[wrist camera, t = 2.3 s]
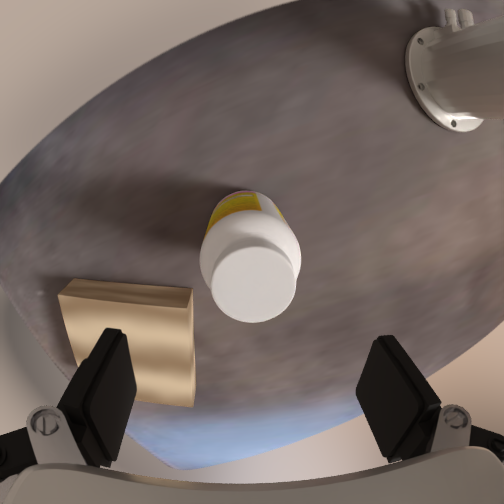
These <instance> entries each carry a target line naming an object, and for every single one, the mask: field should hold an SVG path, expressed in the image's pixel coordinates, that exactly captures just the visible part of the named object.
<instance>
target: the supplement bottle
mask: <svg viewBox="0 0 504 504" xmlns="http://www.w3.org/2000/svg"><path fill="white" fill-rule="evenodd" d="M300 266H301V252H300V247H299V244H298V241H297V239H296V237H295V235H294V233H293V232H292V230H291V229H290V227H289V226H288V224H287V222H286V221H285V219H284V218H283V216H282V214H281V213H280V211H279V210H278V208H277V207H276V205H275V204H274V203H273V202H272V201H271V200H270V199H269V198H268V197H266V196H265V195H263V194H261V193H258V192H254V191H238V192H235V193H232V194H230V195H228V196H226V197H225V198H223V199H222V200H221V201H220V202H219V203H218V204H217V206H216V207H215V209H214V211H213V213H212V215H211V218H210V221H209V224H208V227H207V230H206V234H205V237H204V240H203V243H202V247H201V252H200V268H201V273H202V275H203V278H204V280H205V282H206V284H207V285H208V287H209V288H210V289H211V293H212V296H213V299H214V301H215V303H216V304H217V306H218V307H219V308H220V309H221V310H222V311H223V312H224V313H225V314H226V315H228V316H229V317H231V318H233V319H236V320H239V321H242V322H262V321H266V320H269V319H271V318H274V317H275V316H277V315H279V314H280V313H281V312H283V311H284V310H285V309H286V308H287V307H288V305H289V304H290V302H291V301H292V299H293V296H294V294H295V290H296V279H297V277H298V274H299V271H300Z"/></svg>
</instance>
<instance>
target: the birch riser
mask: <svg viewBox="0 0 504 504" xmlns="http://www.w3.org/2000/svg"><path fill="white" fill-rule="evenodd" d="M58 298H59V303H60V307H61V311H62V315H63V319H64V323H65V326H66V330H67V333H68V337H69V340H70V344H71V347H72V350H73V353H74V356H75V359H76V362H77V365H78V367H79V365H80V364H81V362H82V361H83V360H84V359H85V358H88V356H89V354H90V353H91V351H92V349H93V348H94V346H95V344H96V343H97V341H98V339H99V338H100V336H101V334H102V333H103V331H104V329H105V328H107V327H108V328H115V329H121V331H122V333H124V334H126V335H127V340H128V346H129V351H130V356H131V361H132V366H133V371H134V375H135V380H136V384H137V393H136V396H135V399H134V400H138V401H145V402H152V403H159V404H167V405H176V406H186V407H193V404H194V397H195V389H196V373H195V353H194V326H193V288H178V287H165V286H151V285H139V284H127V283H116V282H106V281H95V280H86V279H76V278H74V279H73V280H72V281H71V282H70V283H69V284H68V285H67V286H66V287H65V288H64V289H63V290H62V291H61V292H60V293H59V294H58Z"/></svg>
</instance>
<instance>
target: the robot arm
mask: <svg viewBox="0 0 504 504" xmlns="http://www.w3.org/2000/svg"><path fill="white" fill-rule="evenodd" d="M444 11H445V18H446V21H447V25H445V27H443V28H440V27H427V28H425V29H422V30H420V31H419V32H417V33H415V34H414V35H413V36H412V38H411V39H410V41H409V43H408V45H407V48H406V54H405V66H406V72H407V77H408V80H409V84H410V87H411V89H412V91H413V93H414V96H415V98H416V99H417V101H418V103H419V104H420V106H421V107H422V109H423V110H424V111H425V112H426V114H427V115H428V116H429V117H430V118H431V119H432V120H433V121H434V122H435V123H437V124H438V125H440V126H441V127H443V128H445V129H447V130H450V131H454V132H469V131H472V130H474V129H476V128H477V127H478V126H479V125H480V124H481V123H482V122H483V120H484V119H503V120H504V16H500V17H497V18H493V19H490V20H487V21H484V22H481V23H478V24H475V25H474V21H473V16H472V13H471V12H470V11H468V10H466V9H459V10H458V18H459V24H460V27H461V28H459V27H458V26H457V18H456V12H455V11H454V10H452V9H445V10H444ZM136 393H137V384H136V380H135V375H134V371H133V366H132V361H131V356H130V351H129V346H128V340H127V335H126V334H124V333H122V331H121V329H115V328H108V327H107V328H105V329H104V331H103V333H102V334H101V336H100V338H99V339H98V341H97V343H96V344H95V346H94V348H93V349H92V351H91V353H90V354H89V356H88V358H85V359H84V360H83V361H82V362H81V364H80V365H79V367H78V369H77V371H76V372H75V374H74V376H73V378H72V380H71V381H70V383H69V385H68V387H67V389H66V390H65V392H64V394H63V396H62V398H61V400H60V402H59V403H58V406H57V407H53V406H40V407H38V408H36V409H34V410H33V411H32V412H31V413H30V414H29V416H28V418H27V421H26V422H27V427H24V428H22V429H18V430H16V431H13V432H10V433H7V434H3V435H0V504H504V436H502V435H500V434H497V433H494V432H491V431H488V430H485V429H482V428H479V427H476V426H473V425H471V417H470V414H469V413H468V412H467V411H466V410H465V409H464V408H463V407H460V406H458V405H453V404H452V405H447V406H444V407H443V408H441V406H440V404H441V401H440V399H439V398H438V396H437V395H436V393H435V392H434V390H433V389H432V388H431V386H430V385H429V383H428V382H427V381H426V379H425V378H424V376H423V375H422V373H421V372H420V371H419V369H418V368H417V367H416V365H415V364H414V362H413V361H412V360H411V358H410V357H409V356H408V354H407V353H406V352H405V350H404V349H403V348H402V346H401V345H400V344H399V342H398V341H397V340H396V338H395V337H394V336H393V335H384V336H379V337H378V338H377V340H374V341H373V344H372V347H371V350H370V352H369V355H368V358H367V361H366V364H365V366H364V369H363V372H362V374H361V377H360V379H359V382H358V384H357V387H356V396H357V399H358V401H359V403H360V405H361V408H362V410H363V412H364V414H365V417H366V419H367V421H368V423H369V426H370V428H371V430H372V432H373V435H374V437H375V440H376V442H377V444H378V447H379V449H380V451H381V454H382V456H383V457H386V458H387V460H388V463H392V462H396V461H399V460H401V459H402V461H400V462H397V463H393V464H389V465H385V466H381V467H377V468H373V469H368V470H364V471H359V472H355V473H349V474H344V475H338V476H332V477H326V478H318V479H310V480H302V481H291V482H278V483H257V484H222V483H201V482H188V481H178V480H169V479H161V478H153V477H147V476H140V475H135V474H129V473H124V472H119V471H114V470H108V469H103V468H100V465H101V466H105V467H109V468H110V466H111V462H112V461H116V460H117V457H118V453H119V449H120V446H121V442H122V439H123V435H124V432H125V429H126V425H127V422H128V419H129V415H130V412H131V409H132V406H133V403H134V399H135V396H136Z"/></svg>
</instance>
